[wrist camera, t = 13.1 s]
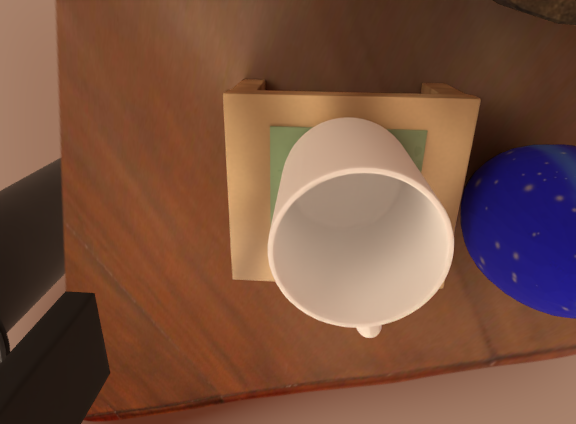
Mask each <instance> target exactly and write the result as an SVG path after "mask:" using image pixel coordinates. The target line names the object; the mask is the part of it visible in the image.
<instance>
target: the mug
mask: <svg viewBox="0 0 576 424" xmlns="http://www.w3.org/2000/svg"><path fill="white" fill-rule="evenodd" d="M453 253H454V235H453V229H452V225H451V222H450V219H449V217H448V214H447V212H446V210H445V208H444V207H443V205H442V204H441V202H440V201H439V199H438V198H437V196H436V195H435V193H434V192H433V190H432V189H431V187H430V186H429V184H428V183H427V181H426V180H425V178H424V177H423V175H422V174H421V172H420V171H419V169H418V168H417V167H416V165H415V164H414V162H413V161H412V159H411V158H410V156H409V155H408V153H407V152H406V150H405V149H404V147H403V146H402V144H401V143H400V142H399V141H398V140H397V139H396V137H395V136H394V135H392V134H391V133H390V132H389V131H388V130H386V129H385V128H383V127H382V126H380V125H378V124H376V123H374V122H371V121H368V120H365V119H360V118H351V117H344V118H336V119H332V120H328V121H325V122H323V123H320V124H318V125H316V126H315V127H313V128H311V129H310V130H309V131H307V132H306V133H305V134H304V135H303V136H302V137H301V138H299V140H298V141H297V142H296V143H295V144H294V146H293V148H292V149H291V151H290V152H289V155H288V157H287V159H286V161H285V165H284V168H283V172H282V176H281V181H280V186H279V190H278V195H277V200H276V204H275V209H274V214H273V218H272V223H271V228H270V233H269V239H268V260H269V266H270V269H271V272H272V275H273V277H274V279H275V281H276V283H277V285H278V287H279V288H280V290H281V291H282V293H283V294H284V295H285V296H286V297H287V299H288V300H289V301H290V302H291V303H292V304H294V305H295V306H296V307H297V308H298V309H300V310H301V311H303V312H304V313H306V314H307V315H309V316H311V317H313V318H315V319H318V320H320V321H323V322H325V323H329V324H333V325H337V326H343V327H356V328H357V330H358V332H359V333H360V334H361V335H362V336H364V337H366V338H373V337H375V336H377V335H378V334H379V333H380V330H381V325H383V324H387V323H390V322H393V321H396V320H398V319H401V318H403V317H405V316H407V315H409V314H411V313H412V312H414V311H415V310H417V309H418V308H420V307H421V306H422V305H424V304H425V303H426V302H427V301H428V300H429V299H430V298H431V297H432V296H433V295H434V294H435V293H436V292H437V290H438V289H439V288H440V286H441V285H442V283H443V282H444V280H445V278H446V276H447V274H448V271H449V269H450V266H451V263H452V258H453Z"/></svg>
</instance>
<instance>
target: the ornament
mask: <svg viewBox="0 0 576 424" xmlns="http://www.w3.org/2000/svg"><path fill="white" fill-rule="evenodd" d="M461 227H462V232H463V237H464V241H465V244H466V247H467V249H468V251H469V254H470V256H471V257H472V259H473V260H474V262H475V264H476V265H477V267H478V268H479V269H480V270H481V271H482V272H483V274H484V275H485V276H486V277H487V278H488V279H489V280H490V281H491V282H493V283H494V284H495V285H496V286H497V287H498V288H500V289H501V290H502V291H503V292H504V293H506V294H507V295H509V296H511V297H512V298H514V299H516V300H517V301H519V302H520V303H522V304H524V305H527V306H529V307H531V308H533V309H536V310H538V311H541V312H544V313H547V314H550V315H553V316H560V317H567V318H576V146H573V145H529V146H524V147H518V148H513V149H511V150H508V151H506V152H503V153H500V154H498V155H497V156H495V157H493V158H492V159H490V160H489V161H487V162H486V163H485V164H483V165H482V166H481V167H480V168H479V169H478V170H477V171H476V172H475V173H474V174H473V176H472V177H471V179H470V180H469V182H468V183H467V185H466V187H465V190H464V193H463V197H462V202H461Z"/></svg>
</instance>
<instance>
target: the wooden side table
mask: <svg viewBox="0 0 576 424" xmlns="http://www.w3.org/2000/svg"><path fill="white" fill-rule="evenodd" d="M480 102H481V99H480V98H478V97H476V96H474V95H467V94H465V93H463V92H461V91H459V90H457V89H455V88H453V87H451V86H449V85H447V84H445V83H422V88H421V94H406V93H360V92H313V91H267V90H265V80H255V79H243V80H242V81H241V82H240V83H238V84H237V85H236V86H235V87H234V88H233V89H231V90H227V91H225V92H224V93H223V107H224V126H225V146H226V165H227V185H228V204H229V223H230V243H231V262H232V279H233V280H256V281H275V279H274V277H273V275H272V272H271V269H270V266H269V260H268V239H269V233H270V228H271V223H272V218H273V214H274V209H275V204H276V200H277V195H278V190H279V186H280V181H281V176H282V172H283V168H284V165H285V161H286V159H287V157H288V155H289V152H290V151H291V149H292V148H293V146H294V144H295V143H296V142H297V141H298V140H299V138H301V137H302V136H303V135H304V134H305V133H306V132H307V131H309V130H310V129H311V128H313V127H315V126H316V125H318V124H320V123H323V122H325V121H328V120H332V119H336V118H344V117H351V118H360V119H365V120H368V121H371V122H374V123H376V124H378V125H380V126H382V127H383V128H385V129H386V130H388V131H389V132H390V133H391V134H392V135H394V136H395V137H396V139H397V140H398V141H399V142H400V143H401V144H402V146H403V147H404V149H405V150H406V152H407V153H408V155H409V156H410V158H411V159H412V161H413V162H414V164H415V165H416V167H417V168H418V169H419V171H420V172H421V174H422V175H423V177H424V178H425V180H426V181H427V183H428V184H429V186H430V187H431V189H432V190H433V192H434V193H435V195H436V196H437V198H438V199H439V201H440V202H441V204H442V205H443V207H444V208H445V210H446V212H447V214H448V217H449V219H450V222H451V225H452V229H453V235H454V233H455V228H456V223H457V218H458V213H459V208H460V203H461V198H462V193H463V188H464V183H465V178H466V172H467V167H468V162H469V157H470V152H471V147H472V142H473V137H474V132H475V127H476V122H477V117H478V112H479V107H480ZM444 283H445V280H444V282H443V283H442V285H441V286H440V288H439V289H443V288H444Z"/></svg>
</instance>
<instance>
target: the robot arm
mask: <svg viewBox="0 0 576 424" xmlns="http://www.w3.org/2000/svg"><path fill="white" fill-rule="evenodd" d="M109 374H110V370H109V365H108V359H107V354H106V349H105V344H104V339H103V334H102V329H101V324H100V319H99V314H98V309H97V304H96V299H95V294H94V293H82V292H65V293H64V294H63V295H62V296H61V297H60V298H59V299H58V300H57V301H56V303H55V304H54V305H53V306H52V307H51V308H50V309H49V310H48V311H47V313H46V314H45V315H44V316H43V317H42V318H41V319H40V320H39V321H38V322H37V323H36V325H35V326H34V327H33V328H32V329H31V330H30V331H29V332H28V333H27V334H26V336H25V337H24V338H23V339H22V340H21V341H20V342H19V343H18V344H17V345H16V347H15V348H14V349H13V350H12V351H11V352H10V353H9V354H8V355H7V356H6V358H5V359H4V360H3V361H2V362H1V363H0V424H81V423H82V421H83V419H84V418H85V416H86V414H87V412H88V411H89V409H90V407H91V405H92V404H93V402H94V400H95V398H96V397H97V395H98V393H99V391H100V390H101V388H102V386H103V384H104V383H105V381H106V379H107V377H108V376H109Z"/></svg>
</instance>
